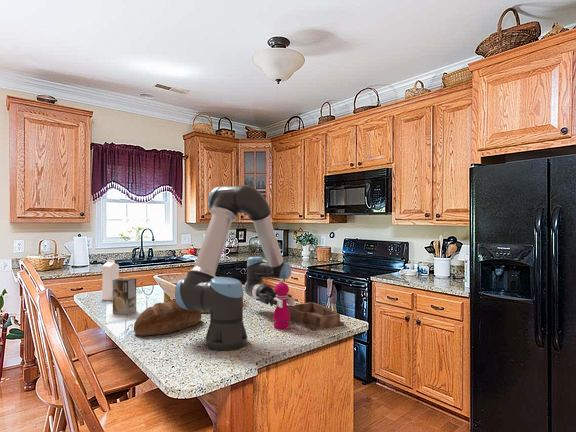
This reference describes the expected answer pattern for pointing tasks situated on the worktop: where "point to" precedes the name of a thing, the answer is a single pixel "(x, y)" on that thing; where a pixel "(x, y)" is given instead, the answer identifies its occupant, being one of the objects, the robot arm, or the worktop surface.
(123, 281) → the coffee box
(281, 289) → the pepper mill
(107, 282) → the milk
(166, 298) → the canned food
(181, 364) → the worktop surface
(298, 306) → the keyhole cradle
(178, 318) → the bread
